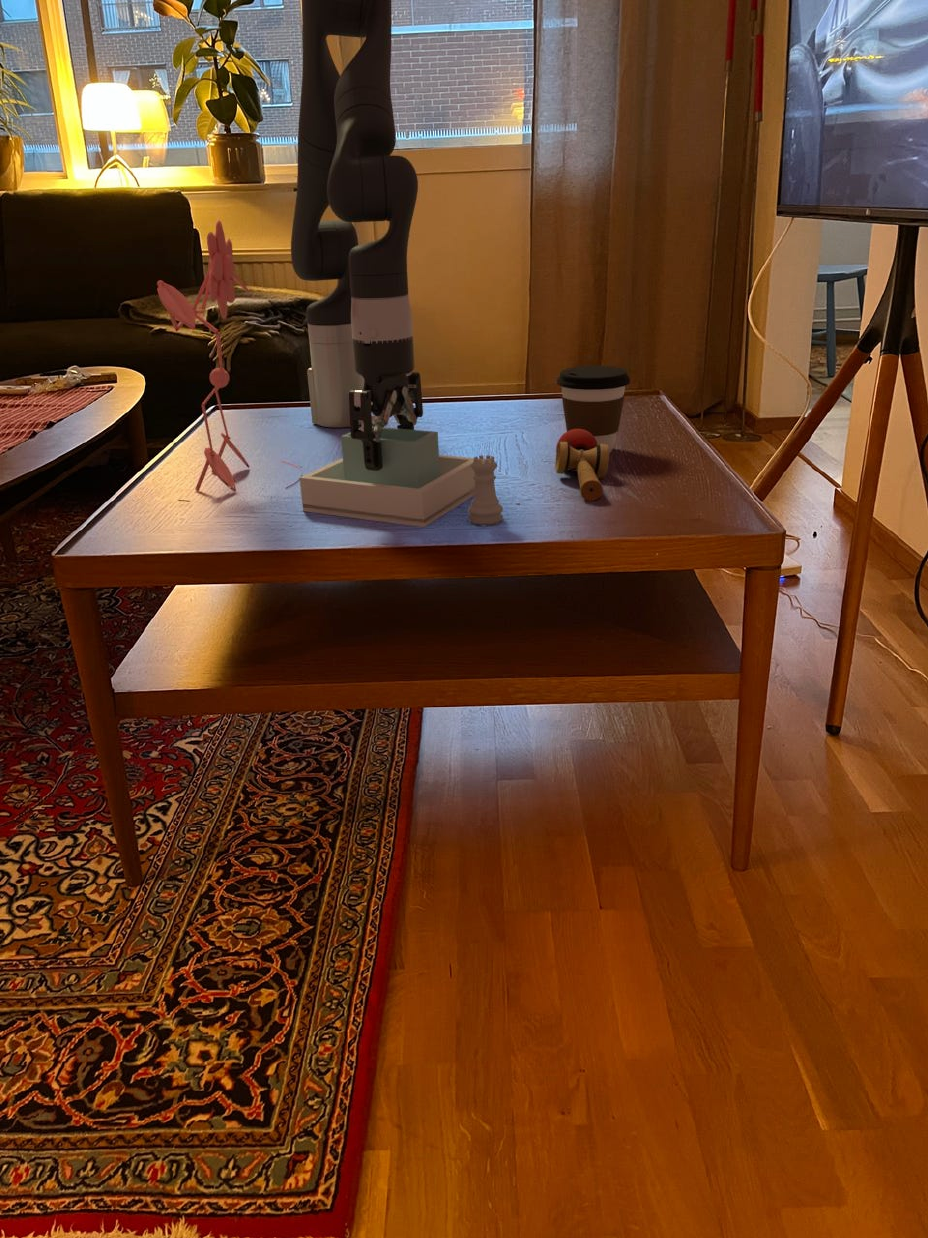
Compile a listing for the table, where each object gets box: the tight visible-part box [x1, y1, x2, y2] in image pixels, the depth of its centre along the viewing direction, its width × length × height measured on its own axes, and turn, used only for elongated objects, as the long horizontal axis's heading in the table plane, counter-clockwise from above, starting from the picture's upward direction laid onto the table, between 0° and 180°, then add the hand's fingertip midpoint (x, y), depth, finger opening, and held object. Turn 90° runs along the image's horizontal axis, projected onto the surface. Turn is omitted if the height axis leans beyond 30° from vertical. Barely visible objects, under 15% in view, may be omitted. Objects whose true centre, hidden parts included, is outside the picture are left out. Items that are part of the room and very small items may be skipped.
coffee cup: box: [556, 365, 631, 454], centre depth 148 cm, size 11×11×12 cm
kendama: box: [554, 429, 610, 501], centre depth 135 cm, size 8×6×18 cm
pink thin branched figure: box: [156, 220, 303, 503], centre depth 134 cm, size 15×26×35 cm, turn 179°
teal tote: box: [340, 425, 440, 489], centre depth 128 cm, size 11×6×8 cm, turn 64°
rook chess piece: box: [467, 454, 504, 527], centre depth 120 cm, size 4×4×8 cm
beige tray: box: [299, 454, 475, 528], centre depth 129 cm, size 18×16×4 cm
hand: (390, 461), depth 128 cm, fingers open, 8 cm apart
